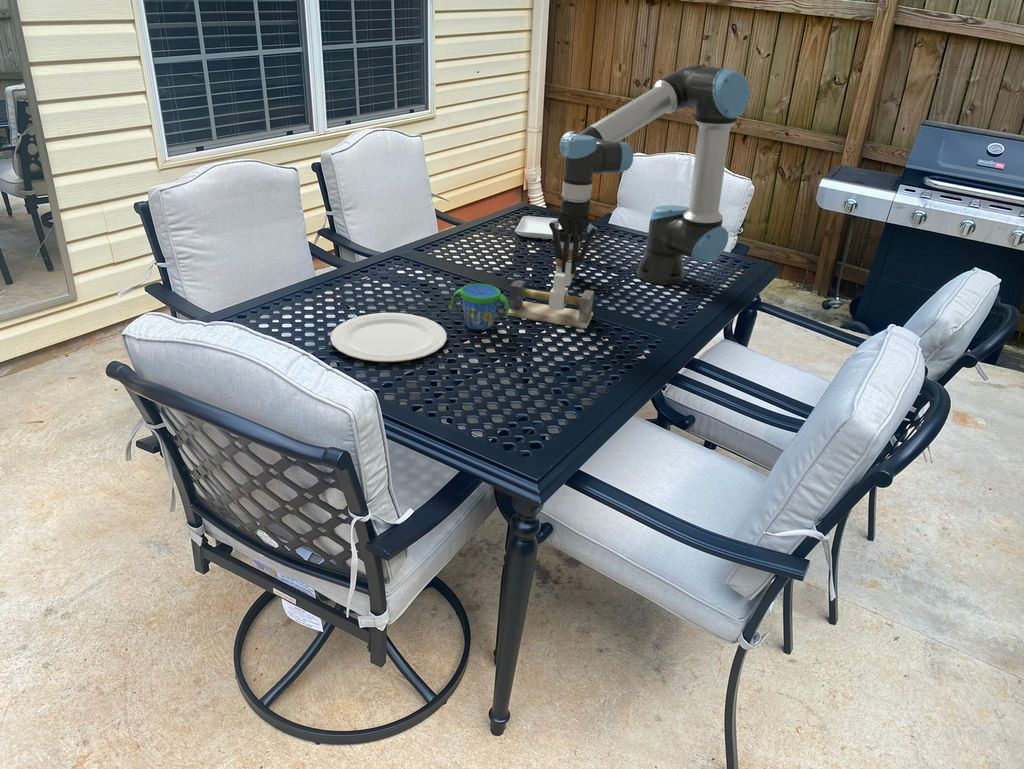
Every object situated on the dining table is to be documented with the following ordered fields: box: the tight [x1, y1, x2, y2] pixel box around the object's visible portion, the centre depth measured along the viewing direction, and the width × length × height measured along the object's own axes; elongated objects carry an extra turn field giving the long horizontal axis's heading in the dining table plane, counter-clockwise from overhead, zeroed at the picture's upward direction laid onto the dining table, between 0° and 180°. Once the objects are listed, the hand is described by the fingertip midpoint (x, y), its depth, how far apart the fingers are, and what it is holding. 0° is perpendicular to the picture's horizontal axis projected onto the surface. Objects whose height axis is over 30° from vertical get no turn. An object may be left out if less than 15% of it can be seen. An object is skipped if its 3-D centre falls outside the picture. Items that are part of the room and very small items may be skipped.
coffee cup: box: [555, 229, 583, 280], centre depth 234 cm, size 8×8×15 cm
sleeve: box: [548, 272, 569, 310], centre depth 204 cm, size 4×5×9 cm
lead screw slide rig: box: [507, 280, 595, 329], centre depth 207 cm, size 23×10×8 cm, turn 74°
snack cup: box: [450, 283, 509, 331], centre depth 197 cm, size 16×10×10 cm
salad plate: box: [514, 215, 562, 241], centre depth 277 cm, size 21×21×3 cm
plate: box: [330, 312, 448, 363], centre depth 188 cm, size 29×29×2 cm
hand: (567, 284), depth 203 cm, fingers closed
